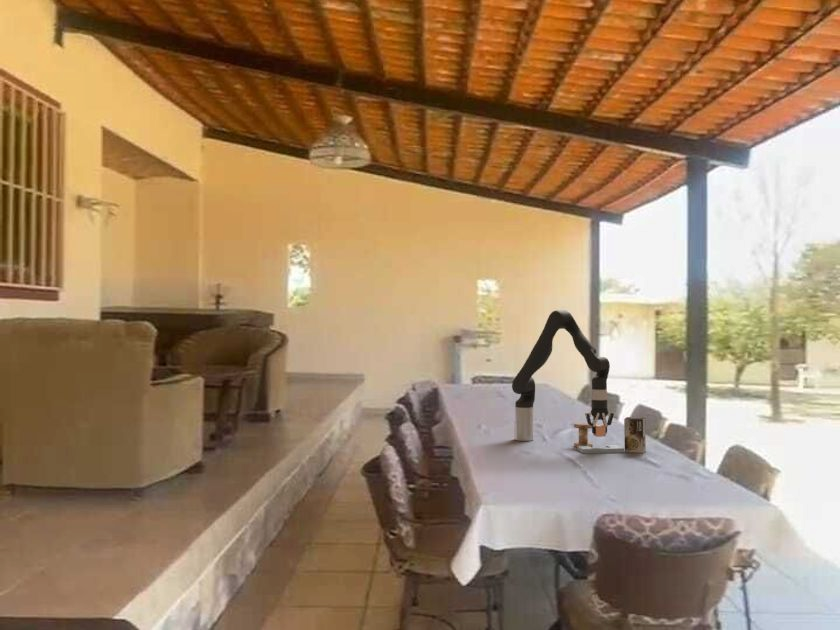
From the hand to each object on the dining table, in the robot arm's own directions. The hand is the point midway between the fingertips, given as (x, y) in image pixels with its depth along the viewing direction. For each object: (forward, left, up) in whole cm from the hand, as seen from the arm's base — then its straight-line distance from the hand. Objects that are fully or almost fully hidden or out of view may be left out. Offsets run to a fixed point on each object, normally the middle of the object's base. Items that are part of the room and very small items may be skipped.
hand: (599, 434), depth 419 cm
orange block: (0, 0, -1) cm, 1 cm away
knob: (-4, +14, -8) cm, 16 cm away
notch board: (0, -1, -8) cm, 8 cm away
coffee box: (+16, -4, -8) cm, 19 cm away
